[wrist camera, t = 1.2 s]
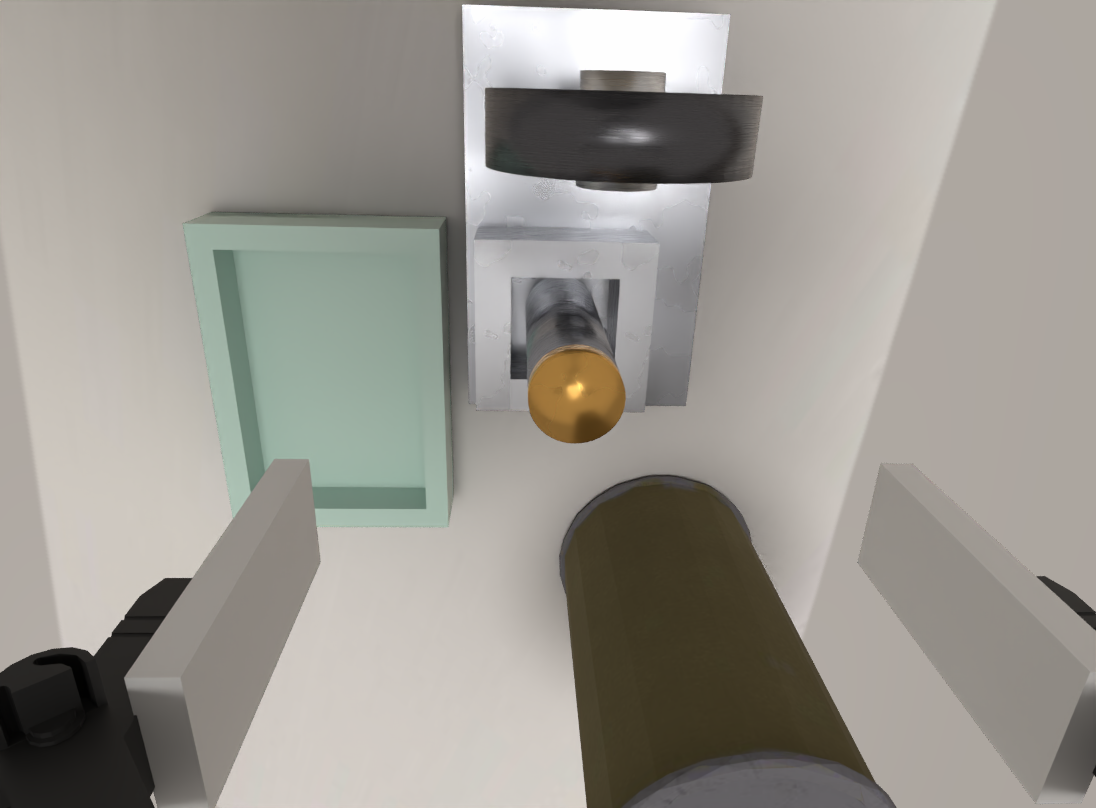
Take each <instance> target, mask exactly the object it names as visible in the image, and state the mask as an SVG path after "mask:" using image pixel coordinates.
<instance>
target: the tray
mask: <svg viewBox="0 0 1096 808" xmlns="http://www.w3.org/2000/svg"><path fill="white" fill-rule="evenodd" d="M183 229H184V235H185V241H186V247H187V253H188V258H189V264H190V270H191V276H192V282H193V288H194V294H195V299H196V305H197V311H198V317H199V323H200V329H201V334H202V340H203V346H204V352H205V358H206V364H207V370H208V375H209V381H210V387H211V393H212V399H213V405H214V410H215V416H216V422H217V428H218V434H219V440H220V446H221V451H222V457H223V463H224V469H225V475H226V481H227V486H228V492H229V498H230V504H231V510H232V516H233V518H234V517H235V515H236V514H237V513H238V511H239V510H240V508H241V507H242V505H243V504H244V502H245V501H246V499H247V498H248V497H249V495H250V494H251V492H252V491H253V489H254V488H255V486H256V485H257V483H258V482H259V481H260V479H261V478H262V476H263V475H264V473H265V472H266V470H267V469H268V467H269V466H270V464H271V463H272V462H273V460H274V459H309V463H310V472H311V481H312V490H313V499H314V508H315V517H316V525H317V527H449V520H450V514H451V508H452V502H453V496H454V491H453V455H452V418H451V382H450V345H449V308H448V272H447V235H446V217H415V216H371V215H328V214H285V213H241V212H211V213H208V214H206V215H203V216H200V217H198V218H195V219H193V220H190V221H188V222H185V223H183Z"/></svg>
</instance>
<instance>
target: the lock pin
mask: <svg viewBox="0 0 1096 808" xmlns="http://www.w3.org/2000/svg"><path fill="white" fill-rule="evenodd" d="M525 317H526V351H527V386H528V406H529V411H530V414H531V417H532V418H533V420H534V422H535V423H536V425H537V426H538V427H539V428H540V429H541V430H542V431H543V432H544V433H545V434H546V435H548V436H550V437H551V438H554V439H556V440H558V441H562V442H566V443H585V442H589V441H593V440H595V439H597V438H600V437H601V436H603V435H605V434H606V433H607V432H609V431H610V430H611V429H612V428H613V427H614V426H615V425H616V423H617V422H618V421H619V419H620V417H621V415H622V413H623V410H624V407H625V401H626V393H625V387H624V383H623V380H622V378H621V375H620V372H619V369H618V367H617V364H616V361H615V358H614V356H613V353H612V350H611V347H610V345H609V342H608V339H607V336H606V334H605V331H604V328H603V325H602V322H601V320H600V317H599V314H598V311H597V309H596V306H595V303H594V300H593V298H592V295H591V293H590V291H589V290H588V289H587V287H586V286H585V285H584V284H583V283H581V282H580V281H579V280H577V279H575V278H546V279H544V280H542V281H540V282H539V283H538V284H537V285H536V286H535V287H534V288H533V289H532V290H531V292H530V293H529V295H528V298H527V301H526V306H525Z"/></svg>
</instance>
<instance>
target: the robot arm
mask: <svg viewBox="0 0 1096 808" xmlns="http://www.w3.org/2000/svg"><path fill="white" fill-rule="evenodd" d="M320 562H321V561H320V552H319V543H318V534H317V525H316V517H315V508H314V499H313V490H312V481H311V472H310V463H309V459H274V460H273V462H272V463H271V464H270V466H269V467H268V469H267V470H266V472H265V473H264V475H263V476H262V478H261V479H260V481H259V482H258V483H257V485H256V486H255V488H254V489H253V491H252V492H251V494H250V495H249V497H248V498H247V499H246V501H245V502H244V504H243V505H242V507H241V508H240V510H239V511H238V513H237V514H236V515H235V517H234V518H233V520H232V521H231V523H230V524H229V526H228V527H227V529H226V530H225V532H224V533H223V534H222V536H221V537H220V539H219V540H218V542H217V543H216V545H215V546H214V548H213V549H212V550H211V552H210V553H209V555H208V556H207V558H206V559H205V561H204V562H203V564H202V565H201V566H200V568H199V569H198V571H197V572H196V574H195V575H194V577H193V578H165V579H163V580H162V581H161V582H159V583H158V584H156V585H155V586H153V587H152V588H151V589H149V590H148V591H146V592H145V593H144V594H142V595H141V596H140V597H139V598H138V599H137V601H136V602H135V603H134V605H133V606H132V607H131V609H130V610H129V611H128V612H127V614H126V615H125V618H124V620H121V622H120V623H119V624H118V625H117V627H116V628H115V629H114V631H113V632H112V636H111V637H108V638H107V640H106V641H105V642H104V644H103V645H102V646H101V648H100V649H99V650H98V651H97V653H96V654H95V655H94V657H93V656H92V655H91V654H90V653H89V652H88V651H86V650H82V649H77V648H73V647H71V648H58V649H51V650H47V651H44V652H40V653H37V654H33V655H30V656H29V657H26V658H25V659H22V660H20V661H18V662H16V663H14V664H12V665H10V666H9V667H8V668H6V669H5V670H4V671H2V672H1V673H0V808H154V805H153V803H152V801H151V799H150V796H151V794H152V792H154V796H155V800H156V804H157V807H158V808H215V806H216V803H217V801H218V799H219V797H220V794H221V792H222V790H223V787H224V785H225V783H226V780H227V778H228V776H229V773H230V771H231V769H232V766H233V764H234V762H235V759H236V757H237V755H238V752H239V750H240V748H241V745H242V743H243V741H244V739H245V736H246V734H247V732H248V729H249V727H250V725H251V722H252V720H253V718H254V715H255V713H256V711H257V708H258V706H259V704H260V701H261V699H262V697H263V694H264V692H265V690H266V687H267V685H268V683H269V681H270V678H271V676H272V674H273V671H274V669H275V667H276V664H277V662H278V660H279V657H280V655H281V653H282V650H283V648H284V646H285V643H286V641H287V639H288V636H289V634H290V632H291V629H292V627H293V625H294V623H295V620H296V618H297V616H298V613H299V611H300V609H301V606H302V604H303V602H304V599H305V597H306V595H307V592H308V590H309V588H310V585H311V583H312V581H313V578H314V576H315V574H316V571H317V569H318V567H319V565H320ZM858 564H859V565H860V566H861V568H862V569H863V571H864V572H865V573H866V575H867V576H868V577H869V578H870V580H871V581H872V583H873V584H874V585H875V587H876V588H877V590H878V591H879V592H880V594H881V595H882V596H883V598H884V599H885V600H886V602H887V603H888V604H889V606H890V607H891V609H892V610H893V611H894V612H895V614H896V615H897V617H898V618H899V619H900V621H901V622H902V623H903V625H904V626H905V627H906V629H907V630H908V632H909V633H910V634H911V636H912V637H913V638H914V640H915V641H916V642H917V644H918V645H919V646H920V648H921V649H922V650H923V652H924V653H925V654H926V656H927V657H928V659H929V660H930V661H931V662H932V664H933V665H934V667H935V668H936V669H937V671H938V672H939V673H940V675H941V676H942V678H943V679H944V680H945V681H946V683H947V684H948V686H949V687H950V688H951V690H952V691H953V692H954V694H955V695H956V696H957V698H958V699H959V701H960V702H961V703H962V704H963V706H964V707H965V709H966V710H967V711H968V713H969V714H970V715H971V717H972V718H973V719H974V721H975V722H976V724H977V725H978V726H979V728H980V729H981V730H982V732H983V733H984V734H985V736H986V737H987V738H988V740H989V741H990V742H991V744H992V745H993V747H994V748H995V749H996V751H997V752H998V753H999V754H1000V756H1001V757H1002V759H1003V760H1004V761H1005V763H1006V764H1007V766H1008V767H1009V768H1010V769H1011V771H1012V772H1013V774H1014V775H1015V776H1016V778H1017V779H1018V780H1019V782H1020V783H1021V784H1022V786H1023V787H1024V789H1025V790H1026V791H1027V793H1028V794H1029V795H1030V797H1031V798H1032V799H1033V801H1034V802H1035V803H1036V804H1059V803H1060V804H1062V803H1082V801H1083V798H1084V796H1085V794H1086V792H1087V789H1088V787H1089V785H1090V782H1091V781H1092V778H1093V776H1094V775H1095V777H1096V612H1095V611H1094V610H1092V608H1091V607H1089V606H1088V605H1087V604H1086V603H1085V602H1084V601H1083V600H1081V599H1080V598H1079V597H1078V596H1077V595H1076V594H1075V593H1073V592H1071V591H1070V590H1068V589H1066V588H1064V587H1063V586H1061V585H1059V584H1057V583H1056V582H1054V581H1052V580H1050V579H1048V578H1047V577H1045V576H1035V575H1034V574H1033V573H1032V572H1030V570H1028V569H1027V568H1026V567H1025V566H1024V565H1023V564H1022V563H1021V562H1020V561H1019V560H1017V559H1016V558H1015V557H1014V556H1013V555H1012V554H1011V553H1010V552H1009V551H1007V549H1005V548H1004V547H1003V546H1002V545H1001V544H1000V543H999V542H998V541H997V540H996V539H995V538H993V537H992V536H991V535H990V534H989V533H988V532H987V531H986V530H985V529H984V528H982V527H981V526H980V525H979V524H978V523H977V522H976V521H975V520H974V519H973V518H972V517H970V516H969V515H968V514H967V513H966V512H965V511H964V510H963V509H961V507H959V506H958V505H957V504H956V503H955V502H954V501H953V500H952V499H951V498H950V497H949V496H947V495H946V494H945V493H944V492H943V491H942V490H941V489H940V488H939V487H937V486H936V485H935V484H934V483H933V482H932V481H931V480H930V479H929V478H928V477H927V476H925V475H924V474H923V473H922V472H921V471H920V470H919V469H918V468H917V467H916V466H915V465H913V464H888V463H886V464H883V463H881V464H880V468H879V473H878V477H877V481H876V485H875V490H874V494H873V499H872V503H871V507H870V511H869V515H868V520H867V524H866V528H865V532H864V537H863V541H862V546H861V550H860V554H859V558H858Z"/></svg>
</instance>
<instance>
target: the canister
mask: <svg viewBox="0 0 1096 808" xmlns="http://www.w3.org/2000/svg"><path fill="white" fill-rule="evenodd" d="M559 557H560V576H561V580H562V583H563V587H564V590H565V593H566V597H567V607H568V617H569V628H570V638H571V648H572V658H573V669H574V679H575V689H576V700H577V710H578V720H579V730H580V741H581V751H582V761H583V772H584V782H585V792H586V802H587V808H896V806H895V805H894V803H893V802H892V800H891V799H890V797H889V795H888V794H887V793H886V792H885V791H884V790H883V789H882V788H881V787H880V786H879V785H877V784H876V782H875V781H874V779H873V777H872V775H871V773H870V771H869V769H868V767H867V765H866V763H865V762H864V759H863V758H862V756H861V754H860V752H859V750H858V748H857V746H856V744H855V742H854V740H853V738H852V736H851V734H850V732H849V730H848V728H847V727H846V725H845V723H844V721H843V719H842V717H841V715H840V713H839V711H838V709H837V707H836V705H835V704H834V702H833V700H832V698H831V696H830V694H829V692H828V690H827V688H826V686H825V684H824V682H823V680H822V678H821V676H820V675H819V673H818V671H817V669H816V667H815V665H814V663H813V661H812V659H811V657H810V655H809V653H808V652H807V649H806V648H805V646H804V644H803V642H802V640H801V638H800V636H799V634H798V632H797V630H796V628H795V626H794V624H793V622H792V621H791V619H790V617H789V615H788V613H787V611H786V609H785V607H784V605H783V603H782V601H781V599H780V597H779V596H778V594H777V592H776V590H775V588H774V586H773V584H772V582H771V580H770V578H769V576H768V574H767V572H766V570H765V569H764V567H763V565H762V563H761V561H760V559H759V557H758V555H757V553H756V551H755V549H754V547H753V545H752V542H751V537H750V532H749V529H748V527H747V525H746V523H745V520H744V518H743V516H742V515H741V513H740V512H739V511H738V509H737V508H736V506H734V505H733V504H732V503H731V502H730V501H729V500H728V499H727V498H726V497H725V496H724V495H722V494H721V493H719V492H718V491H716V490H715V489H713V488H712V487H710V486H708V485H705V484H701V483H698V482H694V481H691V480H687V479H683V478H680V477H672V476H649V477H645V478H642V479H638V480H634V481H630V482H627V483H623V484H619V485H616V486H615V487H613V488H611V489H610V490H608V491H607V492H605V493H603V494H602V495H600V496H599V497H597V498H596V499H594V500H593V501H592V502H591V503H590V504H588V505H587V506H586V507H585V508H584V509H583V510H582V511H581V512H580V513H579V514H578V515H577V516H576V518H575V520H574V522H573V523H572V525H571V527H570V529H569V531H568V533H567V535H566V537H565V539H564V542H563V545H562V549H561V553H560V556H559Z"/></svg>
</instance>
